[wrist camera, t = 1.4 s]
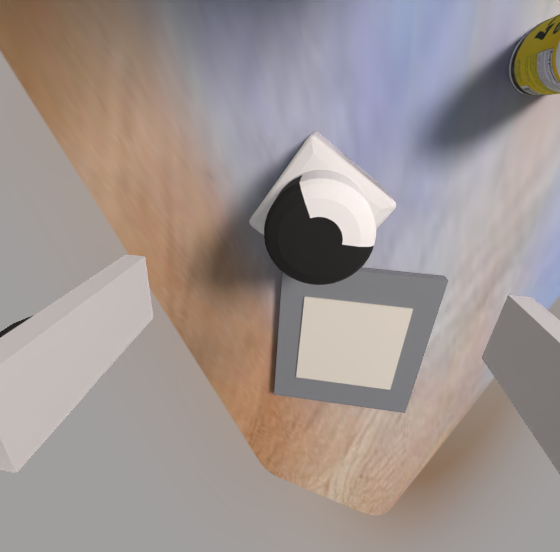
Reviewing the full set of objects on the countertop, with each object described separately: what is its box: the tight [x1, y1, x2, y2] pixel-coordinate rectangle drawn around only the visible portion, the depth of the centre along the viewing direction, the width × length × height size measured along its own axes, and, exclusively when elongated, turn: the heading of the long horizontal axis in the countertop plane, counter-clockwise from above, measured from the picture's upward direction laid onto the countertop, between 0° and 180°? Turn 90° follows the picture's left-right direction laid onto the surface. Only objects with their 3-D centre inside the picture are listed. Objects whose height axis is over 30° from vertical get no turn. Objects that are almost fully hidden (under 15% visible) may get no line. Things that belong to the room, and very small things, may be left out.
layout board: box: [274, 268, 448, 413], centre depth 36 cm, size 18×16×1 cm
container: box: [249, 132, 396, 285], centre depth 24 cm, size 8×8×13 cm
